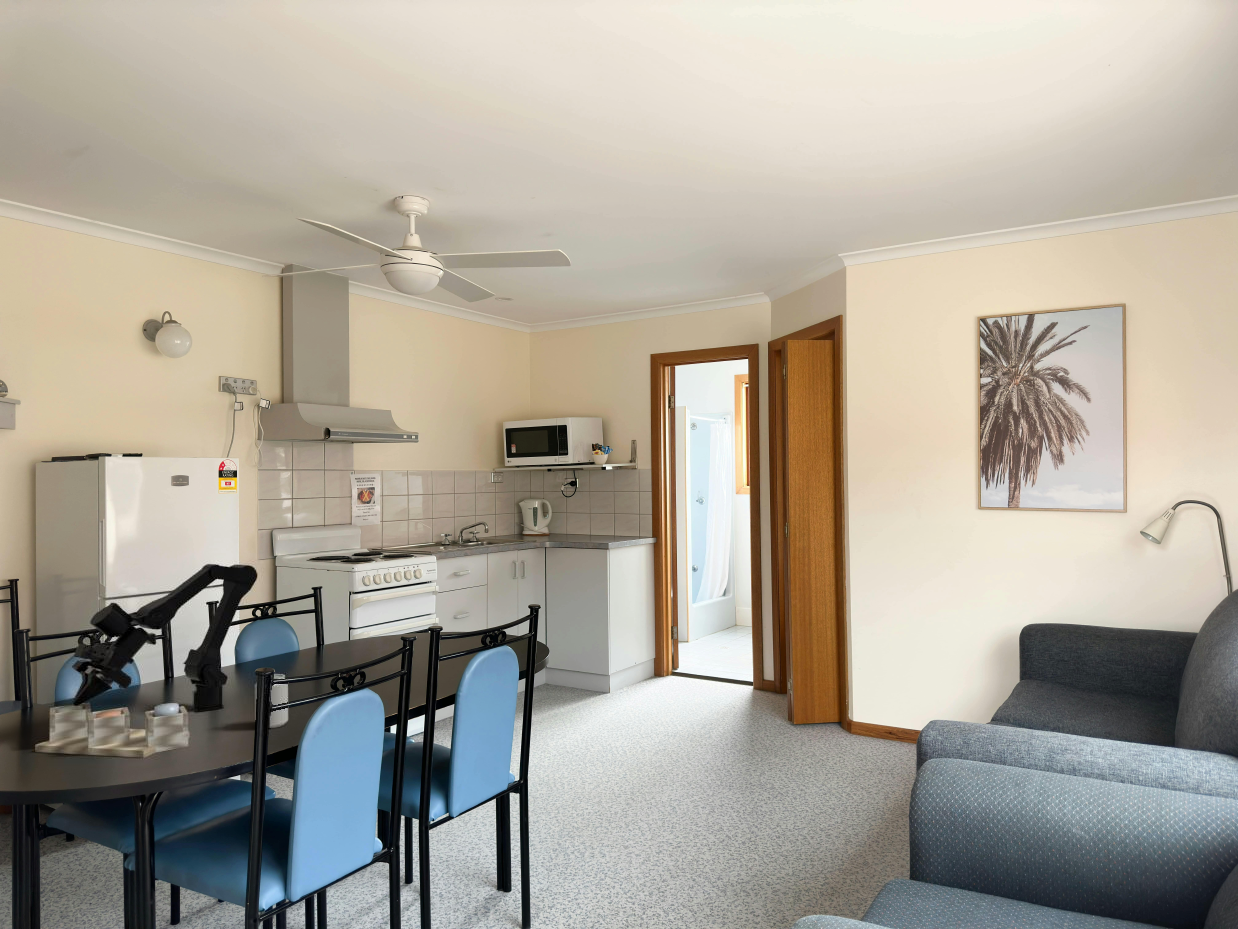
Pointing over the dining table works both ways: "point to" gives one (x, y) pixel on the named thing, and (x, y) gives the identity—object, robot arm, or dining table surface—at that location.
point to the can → (277, 702)
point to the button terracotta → (108, 714)
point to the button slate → (166, 709)
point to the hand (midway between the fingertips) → (73, 705)
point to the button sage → (70, 709)
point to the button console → (114, 733)
